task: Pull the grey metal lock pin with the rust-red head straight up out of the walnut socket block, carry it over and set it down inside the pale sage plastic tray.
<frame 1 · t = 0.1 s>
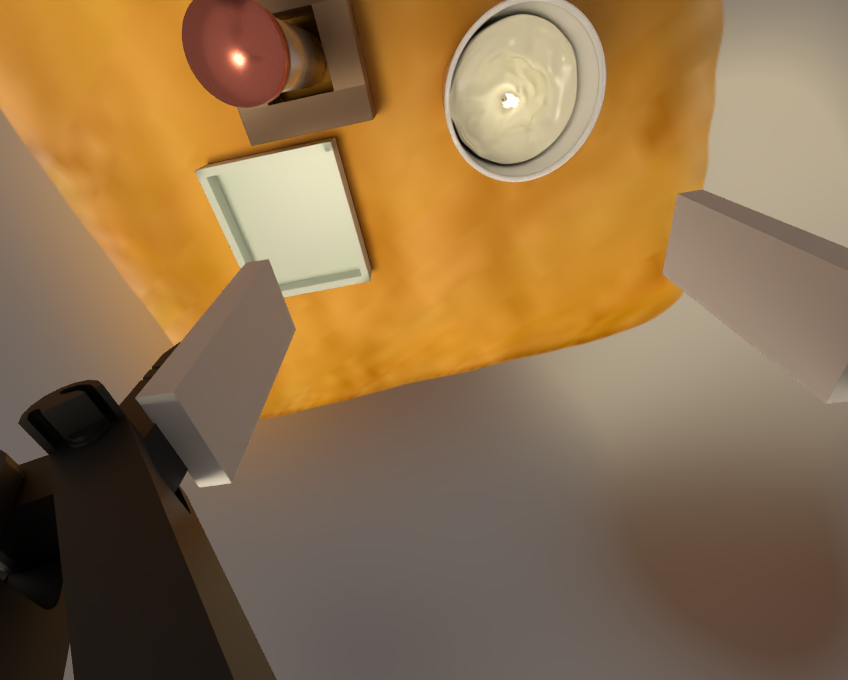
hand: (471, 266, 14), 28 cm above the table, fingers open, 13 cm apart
socket block: (300, 58, 33), on the table
candle holder: (490, 89, 35), on the table
tray: (295, 221, 40), on the table
lock pin: (275, 56, 27), in the socket block
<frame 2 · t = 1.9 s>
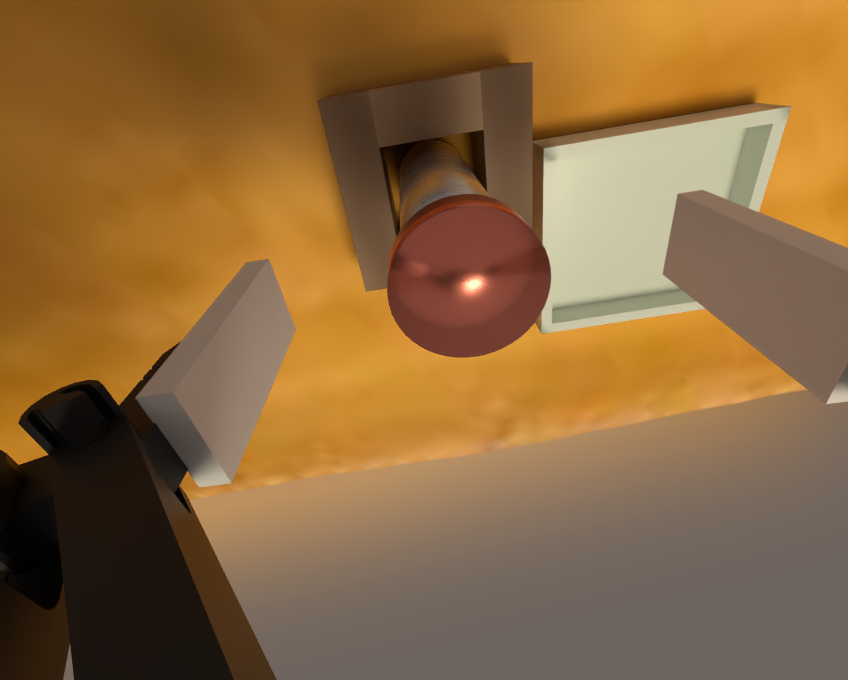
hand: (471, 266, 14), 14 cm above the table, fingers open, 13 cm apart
socket block: (432, 176, 25), on the table
tray: (628, 222, 27), on the table
lock pin: (444, 213, 18), in the socket block
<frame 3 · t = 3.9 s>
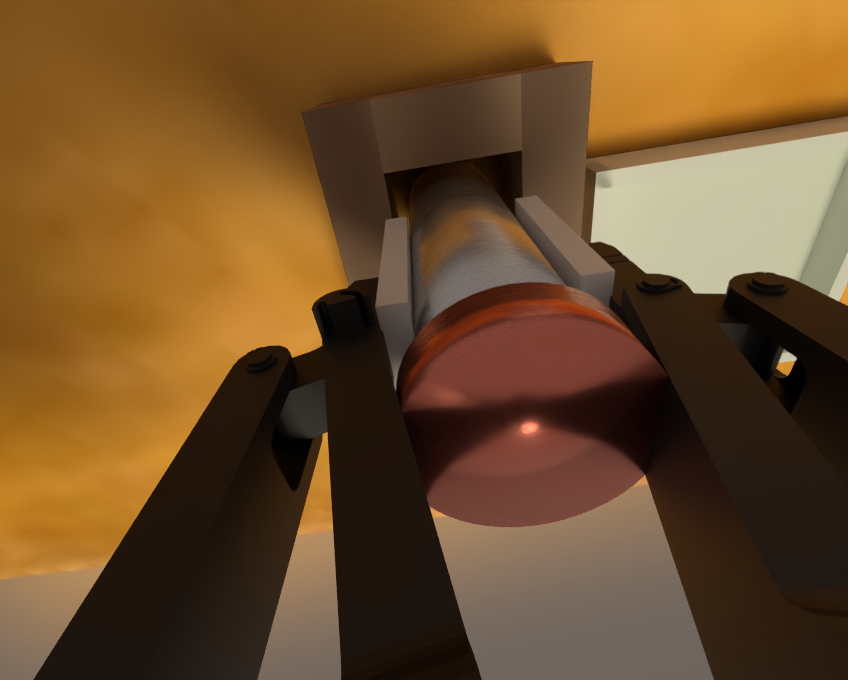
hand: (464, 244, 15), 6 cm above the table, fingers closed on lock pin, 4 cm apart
socket block: (450, 203, 20), on the table
tray: (689, 258, 22), on the table
lock pin: (471, 266, 14), in the socket block, touching gripper
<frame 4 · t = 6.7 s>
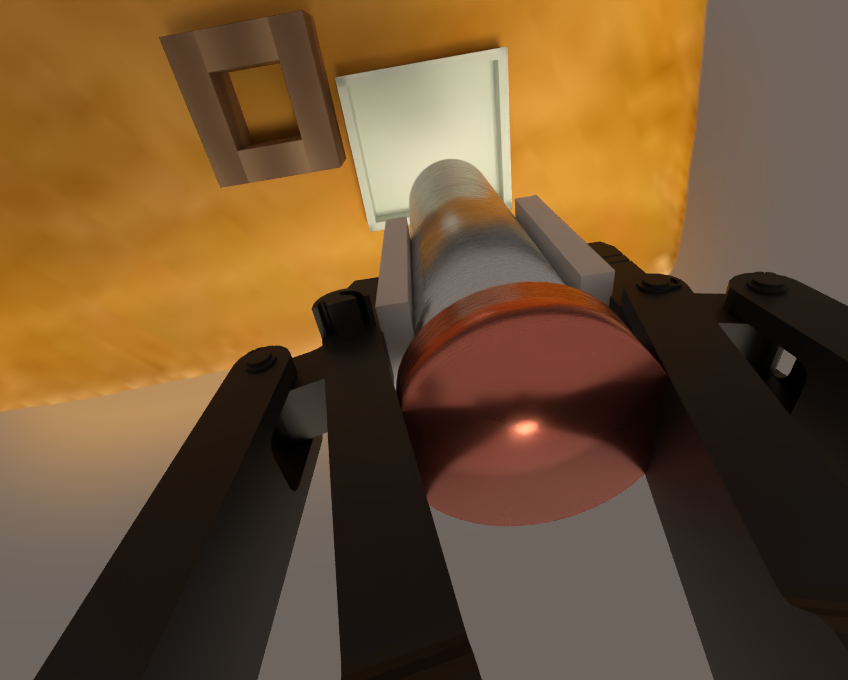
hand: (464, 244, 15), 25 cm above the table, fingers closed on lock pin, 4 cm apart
socket block: (271, 103, 34), on the table
tray: (429, 144, 36), on the table
lock pin: (471, 266, 14), point 27 cm above the table, touching gripper
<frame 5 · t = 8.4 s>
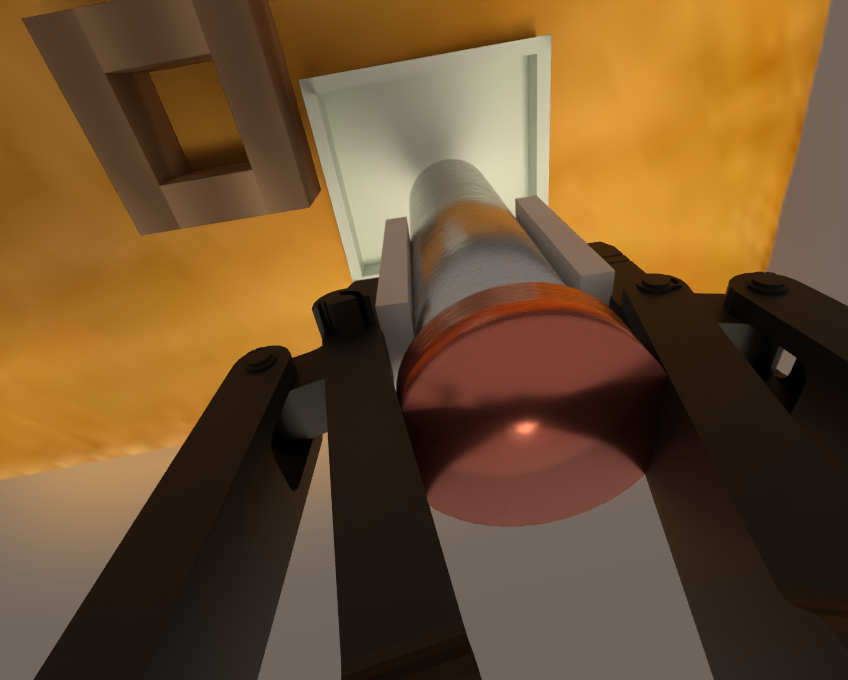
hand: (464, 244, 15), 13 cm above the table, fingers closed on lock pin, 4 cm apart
socket block: (213, 116, 24), on the table
tray: (435, 170, 26), on the table
lock pin: (471, 266, 14), point 15 cm above the table, touching gripper
when the fingers open (8 cm above the table, at t = 10.0 s): lock pin drops 1 cm, resting on tray.
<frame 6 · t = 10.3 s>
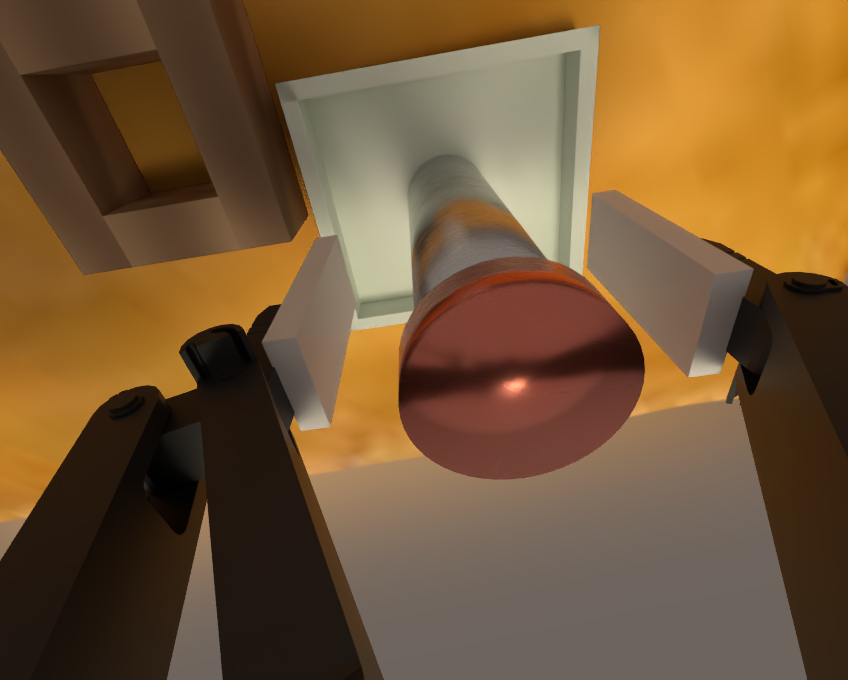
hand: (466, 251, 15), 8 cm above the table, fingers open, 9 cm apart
socket block: (174, 128, 20), on the table
tray: (446, 192, 22), on the table
lock pin: (467, 253, 15), in the tray, point 9 cm above the table
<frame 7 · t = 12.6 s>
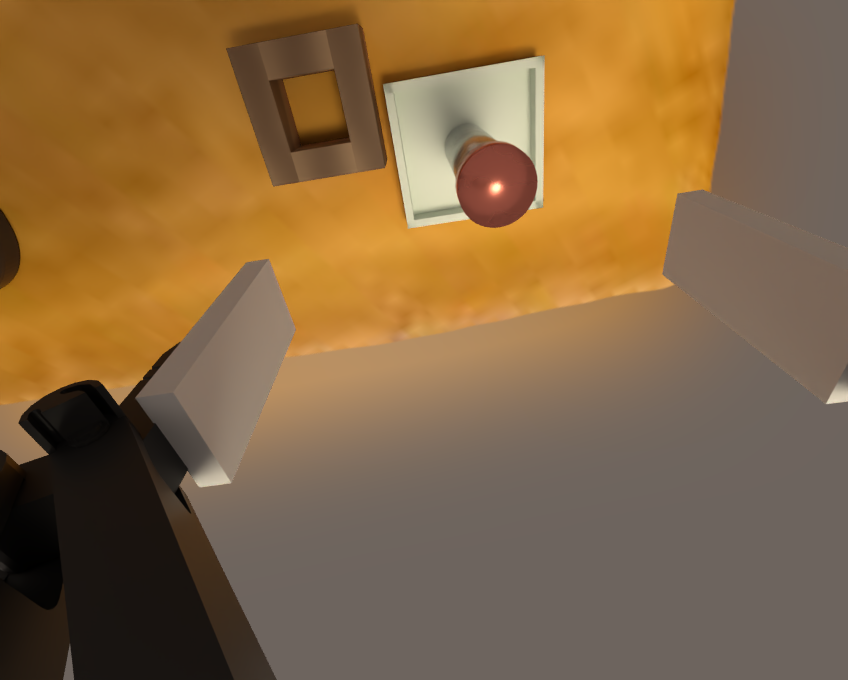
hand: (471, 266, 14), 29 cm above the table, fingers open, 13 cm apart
socket block: (320, 108, 36), on the table
tray: (466, 146, 38), on the table
lock pin: (478, 163, 31), in the tray, point 9 cm above the table
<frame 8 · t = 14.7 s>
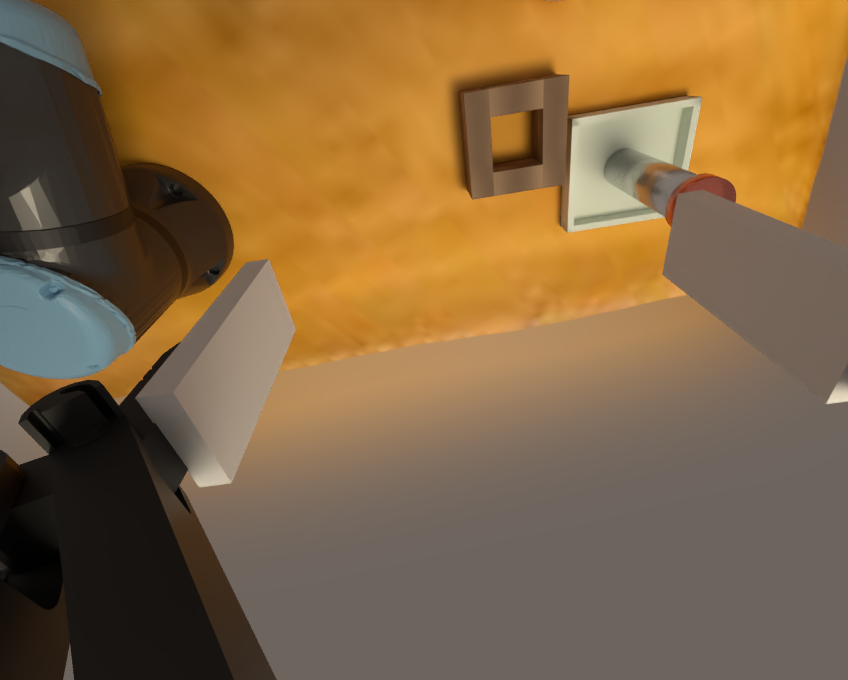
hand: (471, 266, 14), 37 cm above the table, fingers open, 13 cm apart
socket block: (508, 136, 45), on the table
tray: (619, 165, 47), on the table
lock pin: (656, 184, 40), in the tray, point 9 cm above the table
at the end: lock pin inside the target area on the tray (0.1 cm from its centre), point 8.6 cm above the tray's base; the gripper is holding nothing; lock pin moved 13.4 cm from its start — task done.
